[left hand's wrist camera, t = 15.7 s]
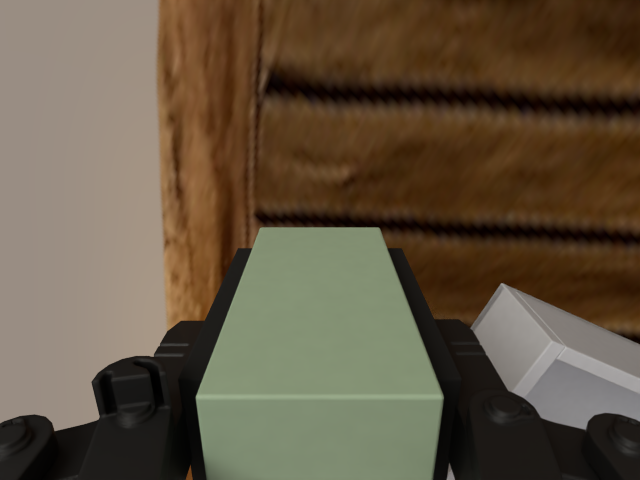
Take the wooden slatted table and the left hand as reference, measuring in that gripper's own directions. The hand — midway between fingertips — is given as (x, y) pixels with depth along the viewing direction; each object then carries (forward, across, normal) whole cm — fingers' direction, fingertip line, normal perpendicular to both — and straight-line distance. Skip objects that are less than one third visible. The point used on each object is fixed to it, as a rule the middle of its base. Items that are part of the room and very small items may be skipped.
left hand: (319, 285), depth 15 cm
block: (0, 0, 0) cm, 0 cm away
